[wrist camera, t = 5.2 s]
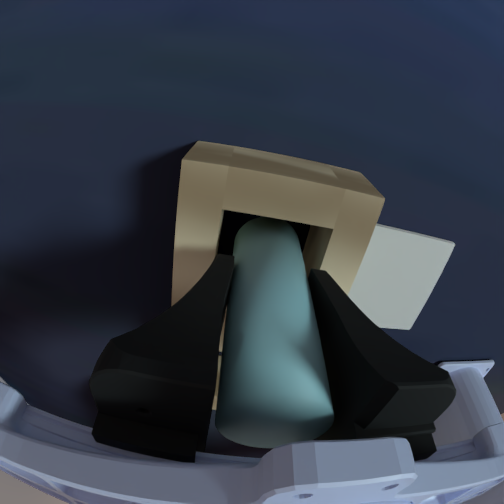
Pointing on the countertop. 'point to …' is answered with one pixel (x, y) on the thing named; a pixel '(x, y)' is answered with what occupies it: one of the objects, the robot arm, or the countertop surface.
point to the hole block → (271, 210)
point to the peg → (271, 344)
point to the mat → (398, 275)
